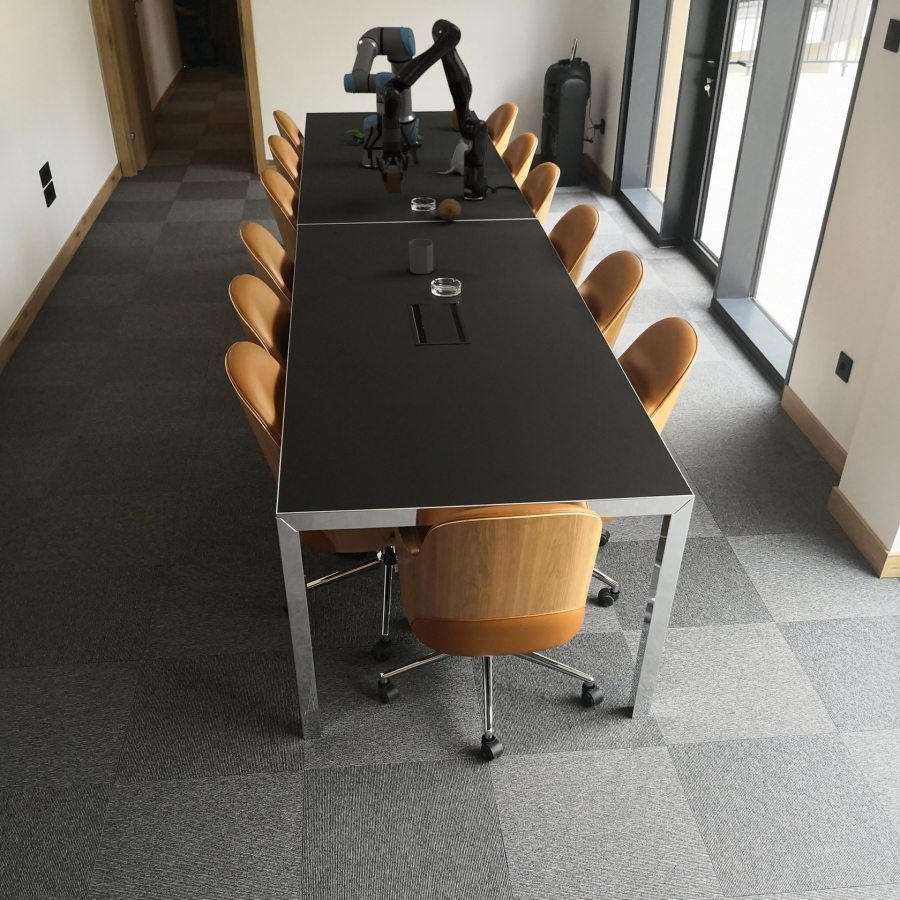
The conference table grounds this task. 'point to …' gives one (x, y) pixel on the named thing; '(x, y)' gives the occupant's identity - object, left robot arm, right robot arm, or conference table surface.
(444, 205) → the potato
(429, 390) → the conference table surface
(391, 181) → the bar
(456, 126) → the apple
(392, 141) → the right robot arm
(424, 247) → the cup
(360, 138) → the green dinosaur figurine
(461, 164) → the toy
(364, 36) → the left robot arm
